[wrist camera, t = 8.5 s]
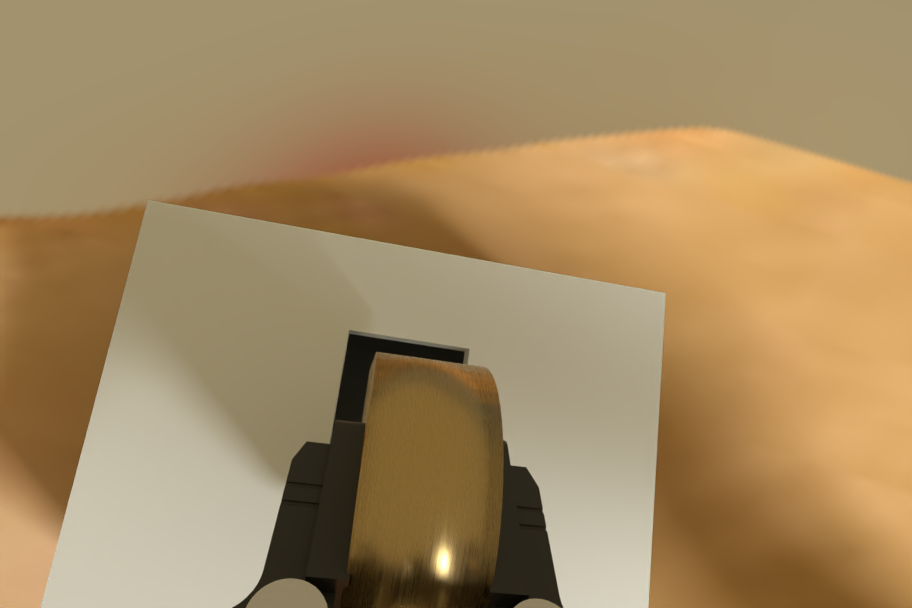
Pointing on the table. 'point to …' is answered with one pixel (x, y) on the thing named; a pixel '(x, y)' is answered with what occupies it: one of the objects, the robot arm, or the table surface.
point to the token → (427, 487)
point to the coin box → (343, 402)
